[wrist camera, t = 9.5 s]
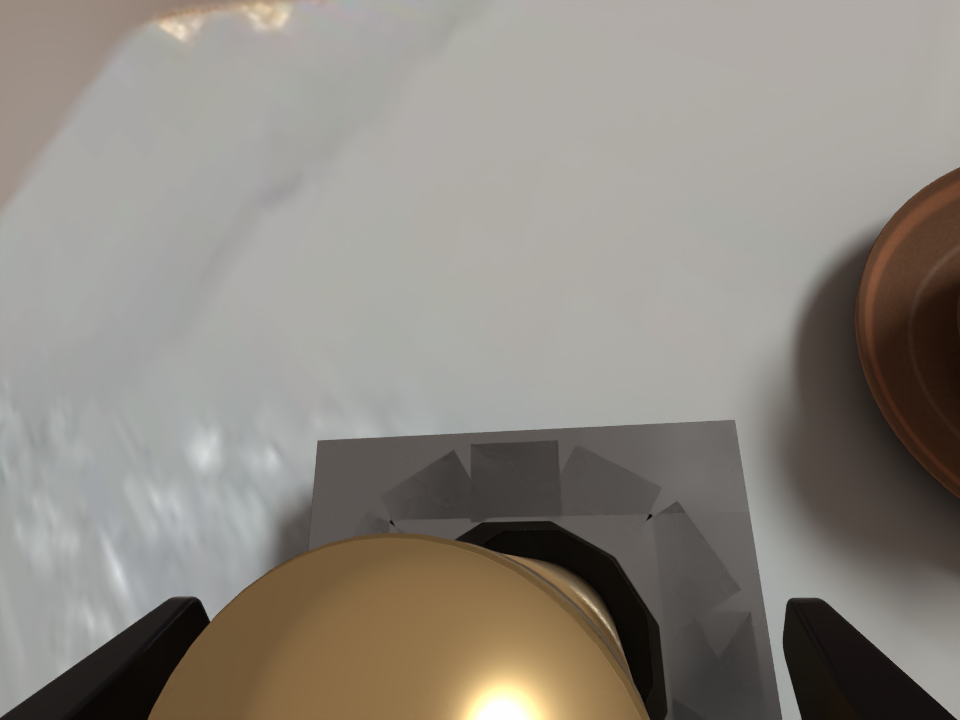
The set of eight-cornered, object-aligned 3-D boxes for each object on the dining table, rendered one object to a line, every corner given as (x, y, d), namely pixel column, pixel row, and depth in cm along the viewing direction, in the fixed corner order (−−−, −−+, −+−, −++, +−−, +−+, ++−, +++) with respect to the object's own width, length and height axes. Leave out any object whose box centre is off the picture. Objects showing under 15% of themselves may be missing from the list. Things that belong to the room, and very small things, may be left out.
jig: (774, 905, 14) (827, 1005, 11) (339, 868, 16) (273, 945, 13) (709, 447, 18) (734, 420, 14) (363, 462, 20) (317, 440, 16)
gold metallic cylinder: (506, 785, 16) (217, 1471, 4) (422, 614, 18) (47, 709, 6) (658, 686, 16) (847, 1044, 4) (558, 526, 18) (477, 434, 6)
